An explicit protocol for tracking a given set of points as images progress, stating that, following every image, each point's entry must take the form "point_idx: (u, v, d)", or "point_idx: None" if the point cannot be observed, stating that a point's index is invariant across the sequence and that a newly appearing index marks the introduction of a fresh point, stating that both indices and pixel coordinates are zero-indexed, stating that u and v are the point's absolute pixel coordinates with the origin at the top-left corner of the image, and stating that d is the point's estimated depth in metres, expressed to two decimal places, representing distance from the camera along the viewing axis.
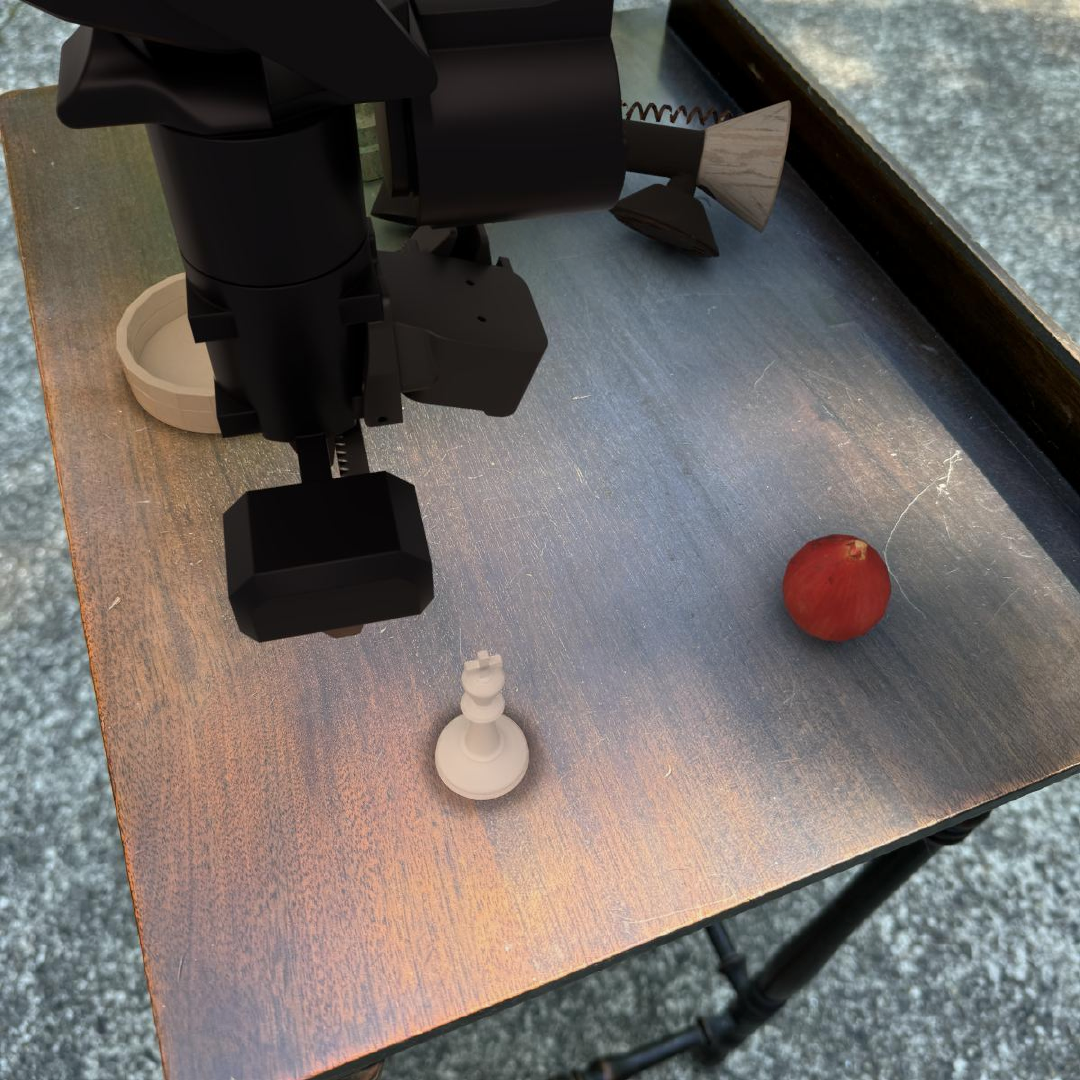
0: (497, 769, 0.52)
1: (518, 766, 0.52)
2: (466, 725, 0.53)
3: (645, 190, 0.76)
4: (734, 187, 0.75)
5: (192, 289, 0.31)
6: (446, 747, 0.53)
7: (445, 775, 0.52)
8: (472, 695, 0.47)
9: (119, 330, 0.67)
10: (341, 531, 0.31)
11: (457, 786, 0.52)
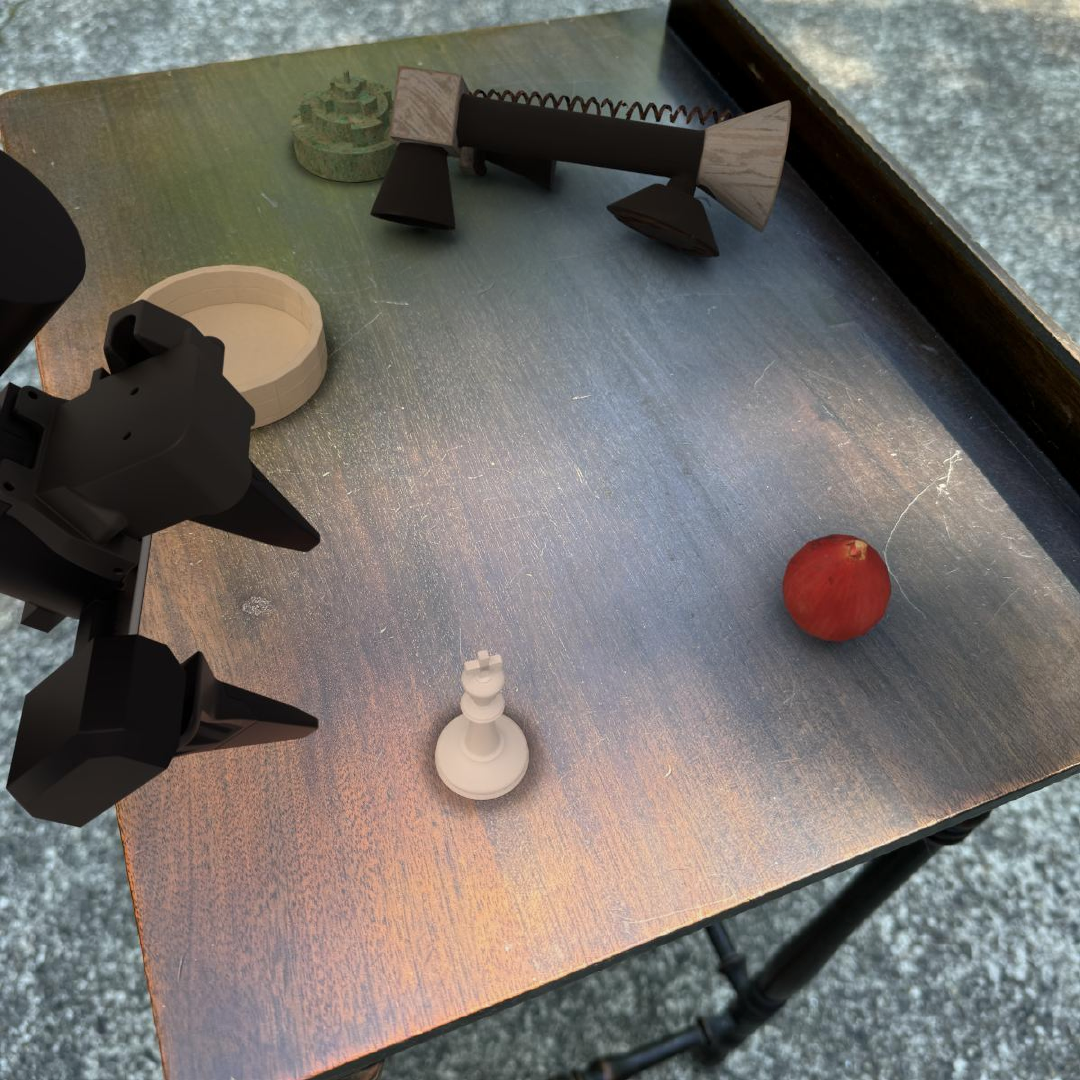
0: (497, 769, 0.52)
1: (518, 766, 0.52)
2: (466, 725, 0.53)
3: (645, 190, 0.76)
4: (734, 187, 0.75)
5: None
6: (446, 747, 0.53)
7: (445, 775, 0.52)
8: (472, 695, 0.47)
9: None
10: (55, 722, 0.31)
11: (457, 786, 0.52)
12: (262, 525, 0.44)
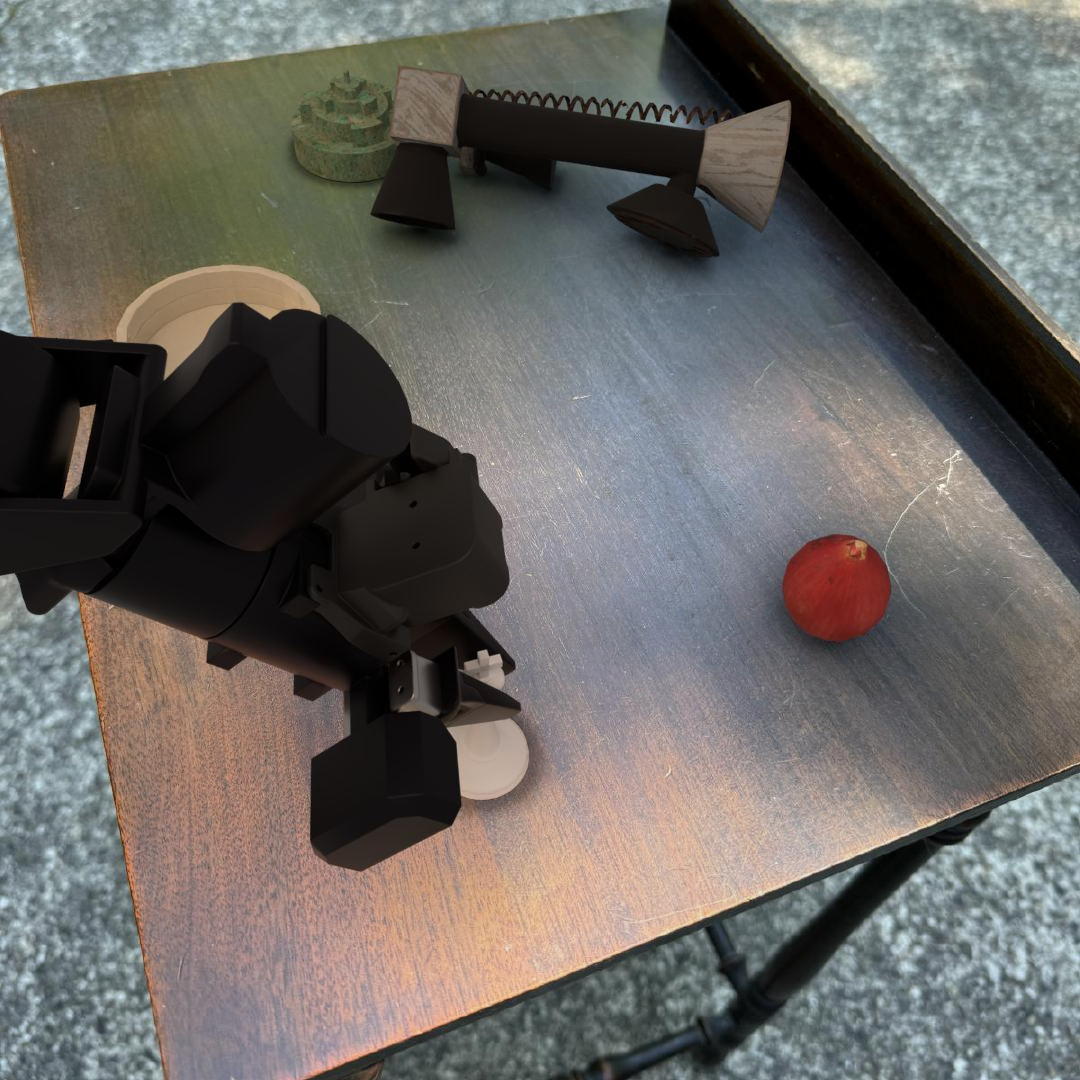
0: (497, 769, 0.52)
1: (518, 766, 0.52)
2: (466, 725, 0.53)
3: (645, 190, 0.76)
4: (734, 187, 0.75)
5: None
6: None
7: None
8: None
9: (119, 330, 0.67)
10: (356, 785, 0.37)
11: None
12: (467, 656, 0.48)
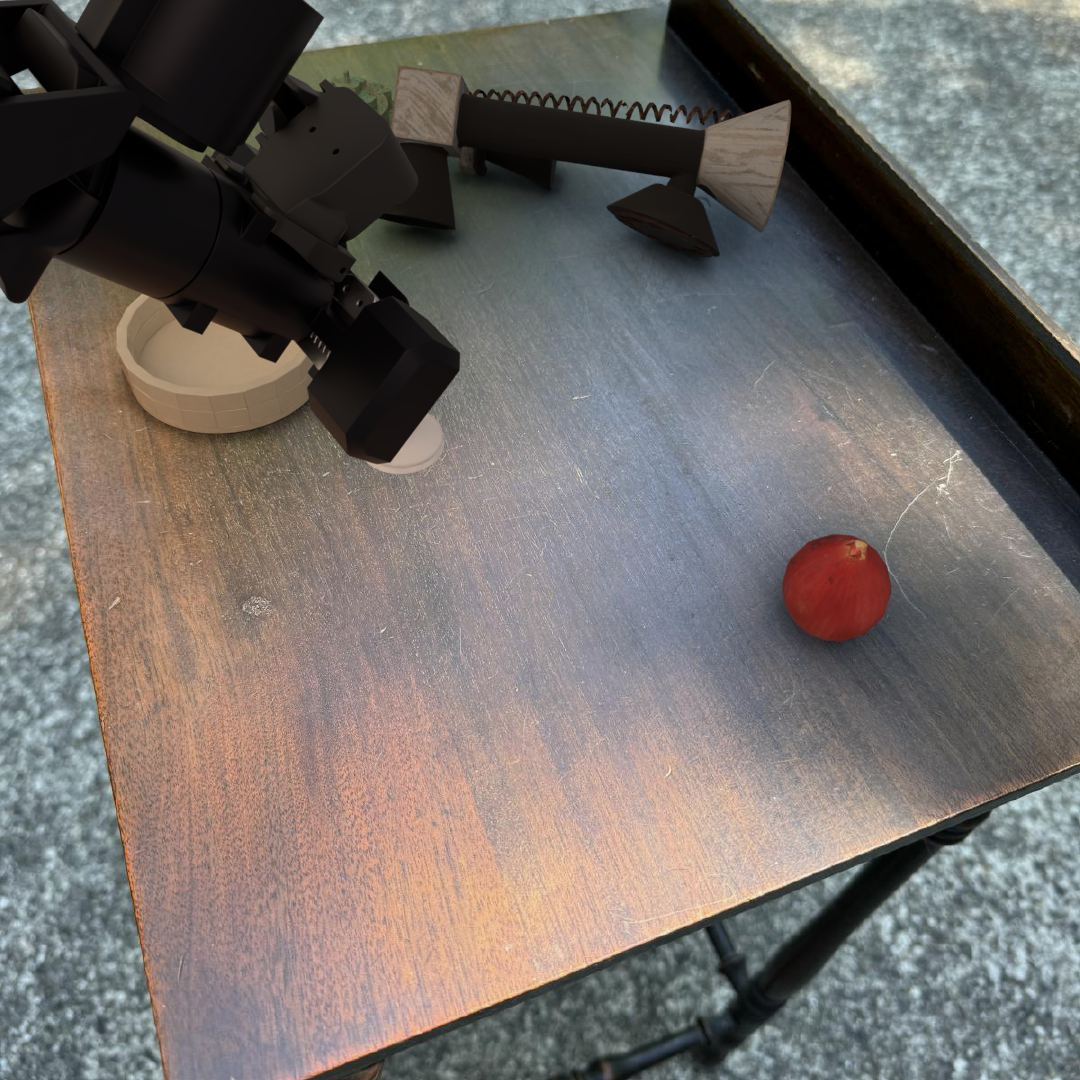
0: (423, 439, 0.57)
1: (438, 433, 0.58)
2: None
3: (645, 190, 0.76)
4: (734, 187, 0.75)
5: (171, 306, 0.42)
6: None
7: None
8: None
9: (119, 330, 0.67)
10: (369, 367, 0.42)
11: (396, 465, 0.57)
12: None
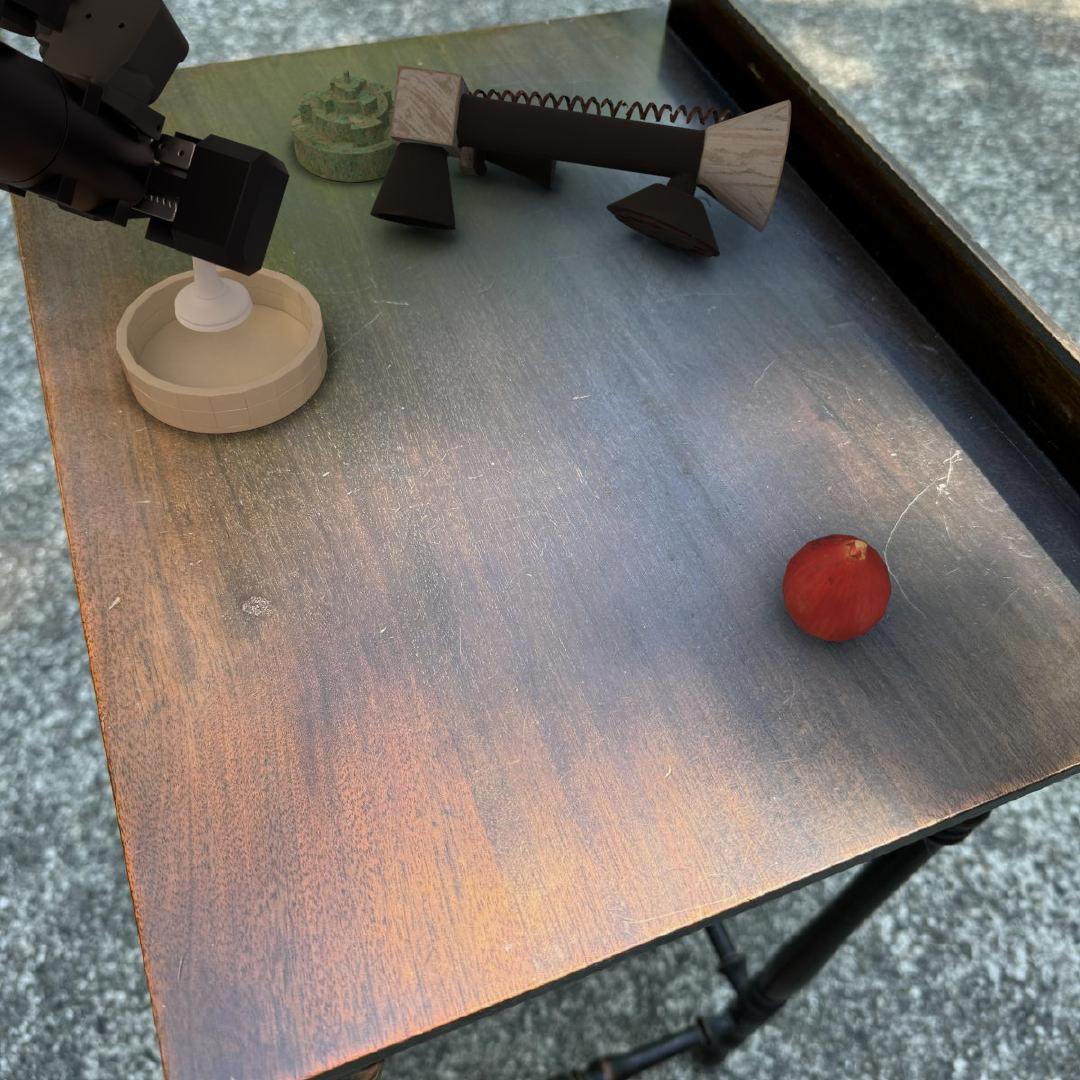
0: (234, 295, 0.66)
1: (242, 288, 0.67)
2: (187, 295, 0.66)
3: (645, 190, 0.76)
4: (734, 187, 0.75)
5: (35, 189, 0.49)
6: (191, 311, 0.65)
7: (209, 322, 0.65)
8: None
9: (119, 330, 0.67)
10: (222, 189, 0.51)
11: (223, 321, 0.65)
12: None
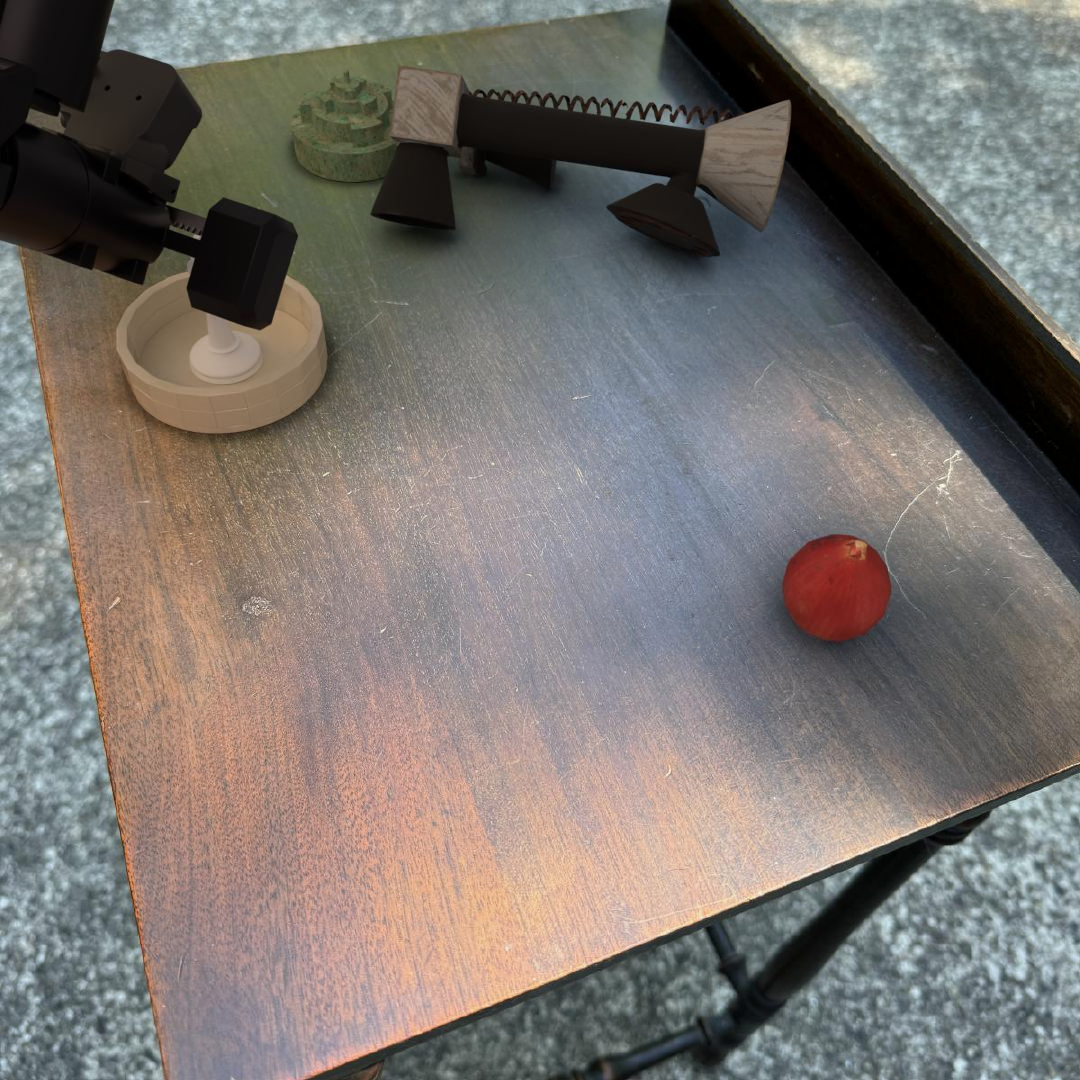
0: (246, 348, 0.70)
1: (254, 341, 0.70)
2: (201, 348, 0.69)
3: (645, 190, 0.76)
4: (734, 187, 0.75)
5: (59, 255, 0.51)
6: (205, 364, 0.69)
7: (223, 375, 0.68)
8: None
9: (119, 330, 0.67)
10: (235, 251, 0.54)
11: (236, 374, 0.69)
12: None
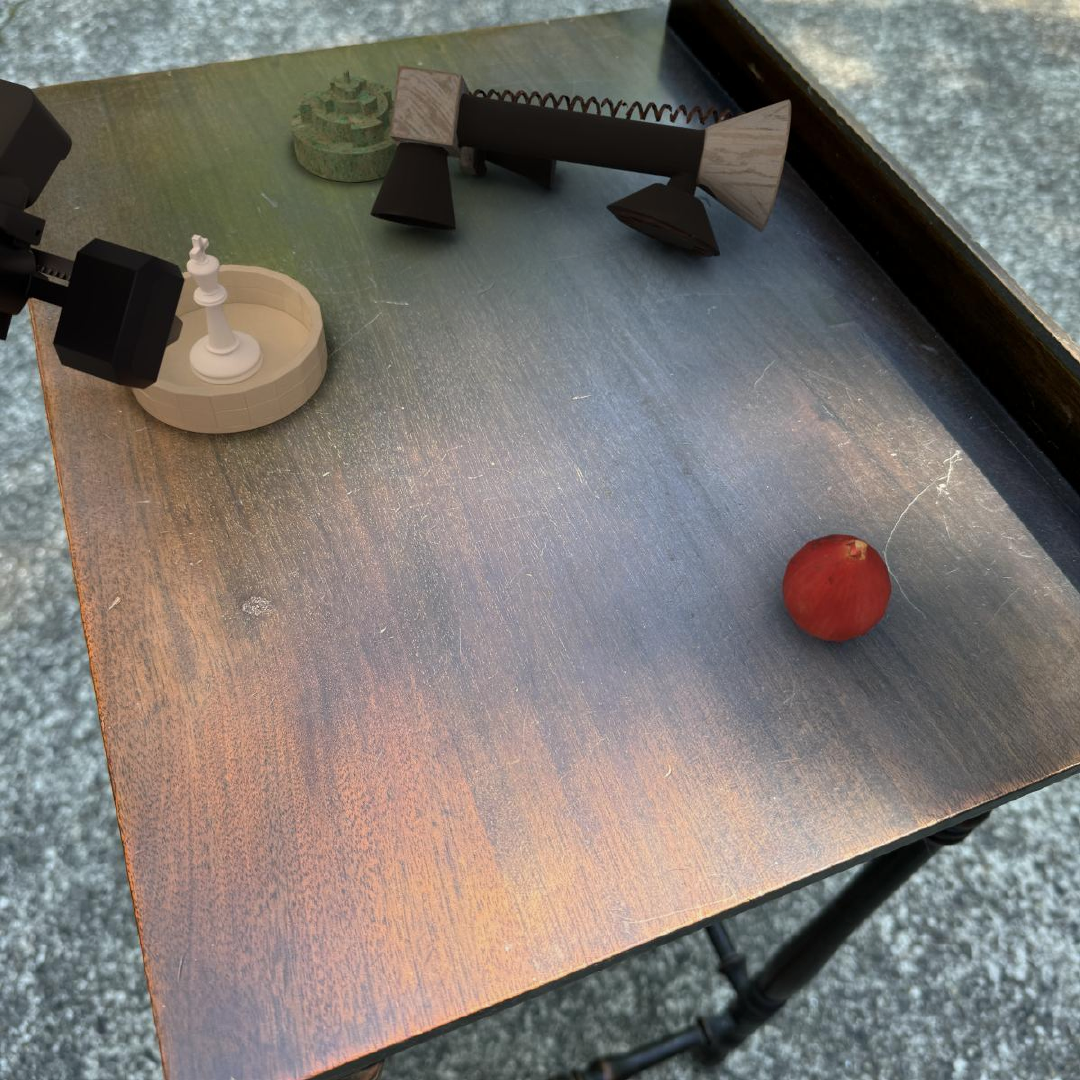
0: (246, 348, 0.70)
1: (254, 341, 0.70)
2: (201, 348, 0.69)
3: (645, 190, 0.76)
4: (734, 186, 0.75)
5: None
6: (205, 364, 0.69)
7: (223, 375, 0.68)
8: (208, 274, 0.64)
9: None
10: (107, 299, 0.46)
11: (236, 374, 0.69)
12: None
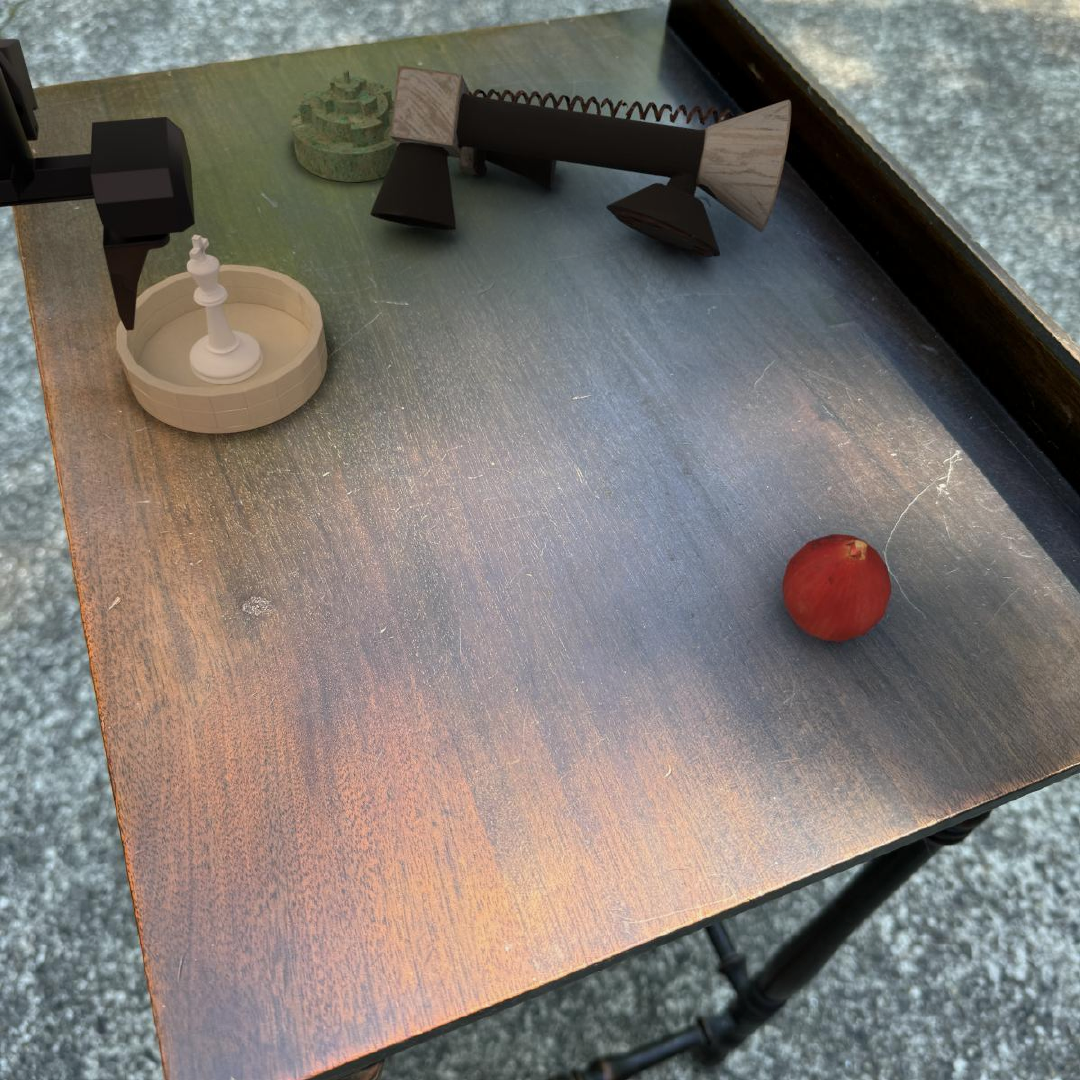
0: (246, 348, 0.70)
1: (254, 341, 0.70)
2: (201, 348, 0.69)
3: (645, 190, 0.76)
4: (734, 187, 0.75)
5: None
6: (205, 364, 0.69)
7: (223, 375, 0.68)
8: (208, 274, 0.64)
9: (119, 330, 0.67)
10: (142, 137, 0.47)
11: (236, 374, 0.69)
12: None
